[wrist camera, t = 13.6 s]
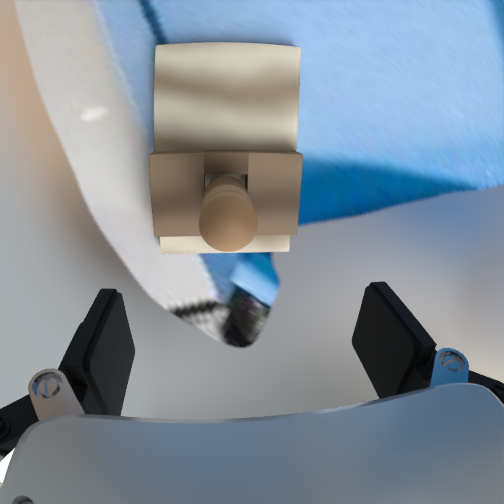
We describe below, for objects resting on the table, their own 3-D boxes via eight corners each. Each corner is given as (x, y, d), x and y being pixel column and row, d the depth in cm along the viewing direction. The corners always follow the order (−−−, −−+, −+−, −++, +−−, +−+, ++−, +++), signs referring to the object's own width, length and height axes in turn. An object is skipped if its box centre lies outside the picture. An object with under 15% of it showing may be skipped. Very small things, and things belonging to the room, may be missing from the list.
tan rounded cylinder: (204, 169, 29) (197, 196, 20) (245, 169, 30) (258, 196, 20) (204, 208, 31) (199, 252, 21) (244, 208, 31) (256, 251, 22)
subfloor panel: (158, 47, 24) (150, 39, 21) (297, 49, 26) (307, 42, 22) (163, 249, 33) (157, 264, 30) (286, 247, 35) (293, 261, 32)
